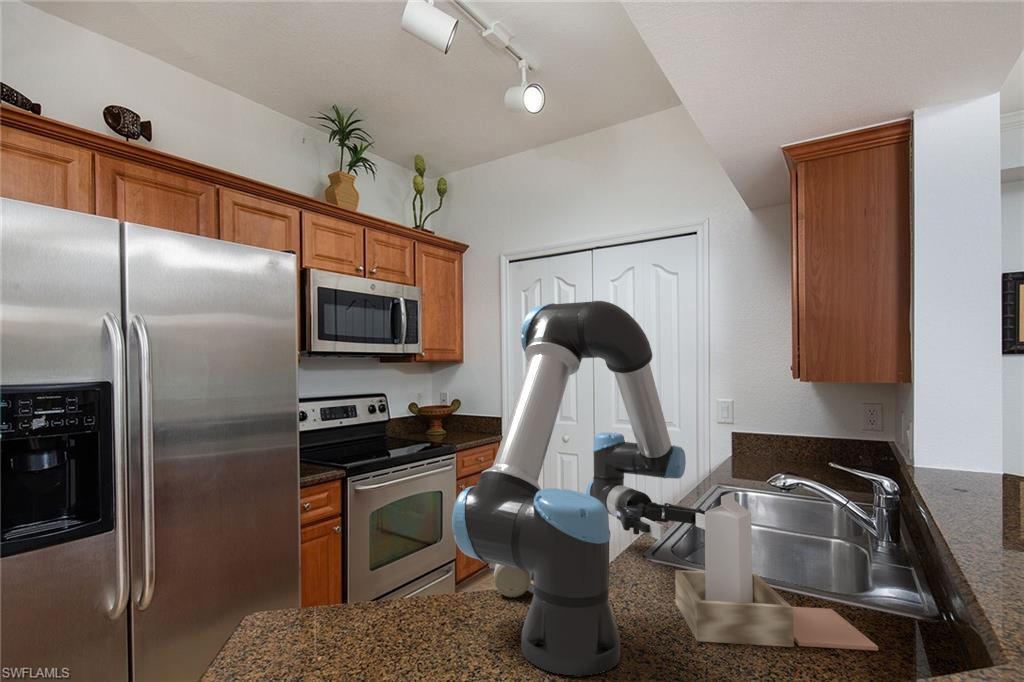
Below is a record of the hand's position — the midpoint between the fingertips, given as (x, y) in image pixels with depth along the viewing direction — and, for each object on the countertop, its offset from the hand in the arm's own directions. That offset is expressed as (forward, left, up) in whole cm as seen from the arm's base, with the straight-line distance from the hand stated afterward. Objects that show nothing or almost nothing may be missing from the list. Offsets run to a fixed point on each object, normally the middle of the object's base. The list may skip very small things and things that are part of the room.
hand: (691, 530), depth 101 cm
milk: (+4, -9, -13) cm, 16 cm away
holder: (+4, -9, -13) cm, 16 cm away
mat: (+19, -9, -13) cm, 24 cm away
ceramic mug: (-33, 0, -13) cm, 36 cm away
